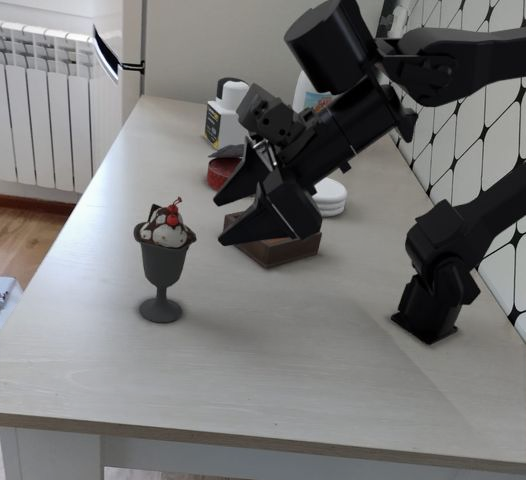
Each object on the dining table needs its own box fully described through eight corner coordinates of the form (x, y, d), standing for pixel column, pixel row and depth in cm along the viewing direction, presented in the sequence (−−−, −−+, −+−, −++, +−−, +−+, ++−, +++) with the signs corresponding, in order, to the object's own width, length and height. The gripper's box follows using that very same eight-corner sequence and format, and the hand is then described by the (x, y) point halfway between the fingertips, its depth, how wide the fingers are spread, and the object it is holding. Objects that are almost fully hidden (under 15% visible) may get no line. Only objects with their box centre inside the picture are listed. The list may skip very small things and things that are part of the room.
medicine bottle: (203, 136, 118) (209, 73, 111) (236, 137, 121) (243, 75, 114) (216, 150, 113) (223, 85, 106) (249, 150, 116) (259, 86, 109)
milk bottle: (282, 141, 124) (301, 37, 111) (291, 132, 130) (310, 32, 118) (317, 150, 123) (340, 46, 110) (325, 140, 129) (347, 40, 116)
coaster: (296, 217, 95) (300, 197, 93) (278, 191, 102) (282, 172, 100) (352, 218, 98) (357, 199, 96) (330, 193, 106) (335, 174, 103)
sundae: (179, 333, 66) (190, 210, 57) (122, 318, 67) (124, 194, 58) (196, 303, 71) (208, 186, 62) (143, 290, 72) (148, 172, 63)
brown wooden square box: (317, 254, 86) (322, 232, 84) (265, 269, 80) (269, 246, 78) (273, 224, 92) (277, 203, 90) (221, 236, 86) (224, 214, 84)
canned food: (207, 213, 102) (184, 158, 96) (229, 188, 109) (209, 135, 103) (265, 202, 96) (244, 143, 91) (284, 176, 104) (265, 120, 98)
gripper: (281, 38, 61) (167, 132, 65) (315, 89, 46) (166, 204, 51) (336, 125, 67) (228, 204, 72) (380, 193, 53) (242, 287, 57)
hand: (217, 221), depth 63 cm, fingers open, 9 cm apart
